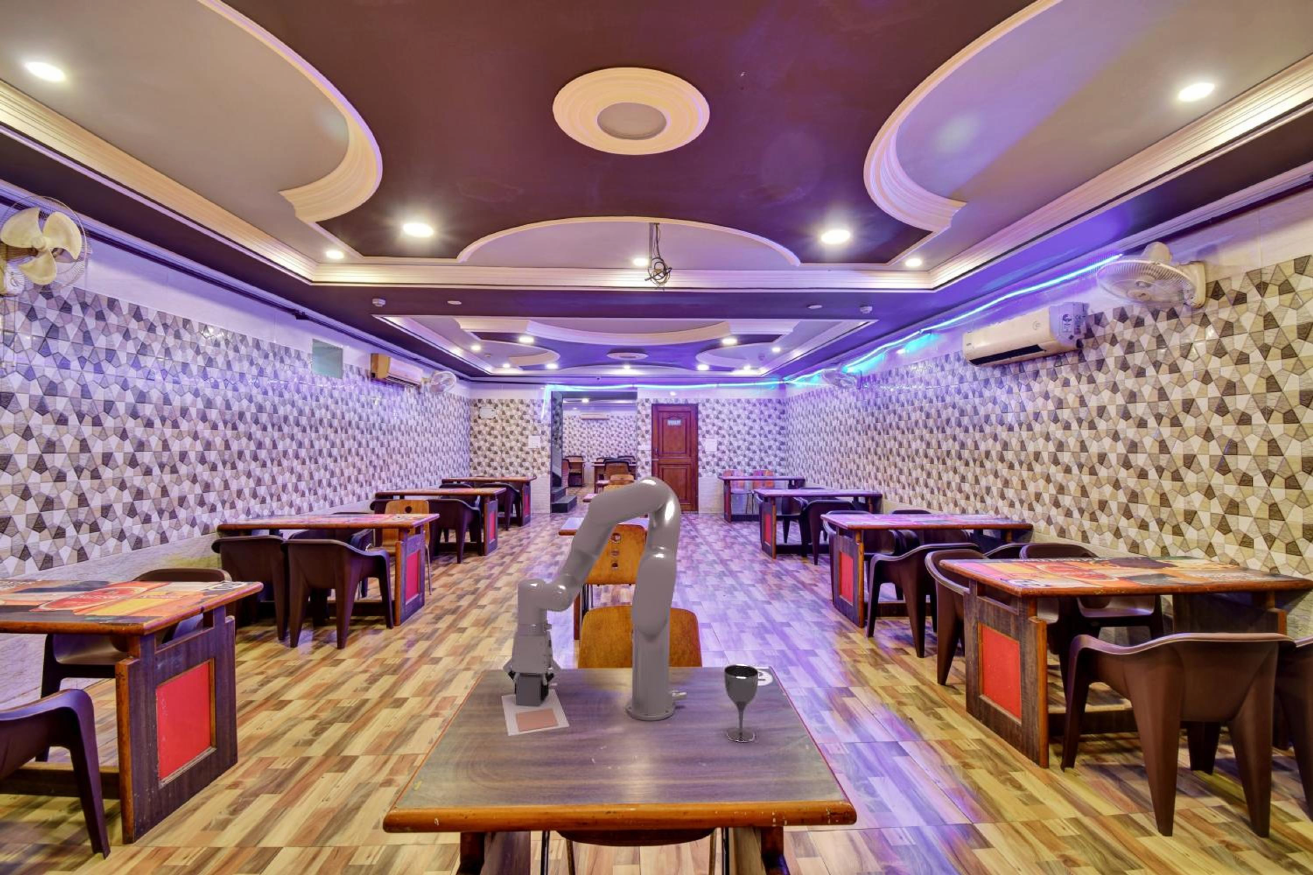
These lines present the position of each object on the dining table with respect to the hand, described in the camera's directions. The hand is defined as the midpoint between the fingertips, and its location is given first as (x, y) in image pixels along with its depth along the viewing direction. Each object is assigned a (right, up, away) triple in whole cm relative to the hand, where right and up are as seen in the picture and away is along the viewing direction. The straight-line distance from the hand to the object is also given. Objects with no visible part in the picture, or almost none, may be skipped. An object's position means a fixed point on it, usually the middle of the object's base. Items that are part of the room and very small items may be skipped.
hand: (531, 696), depth 145 cm
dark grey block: (0, -1, 0) cm, 1 cm away
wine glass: (+52, -3, -14) cm, 54 cm away
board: (+2, -2, -5) cm, 6 cm away
